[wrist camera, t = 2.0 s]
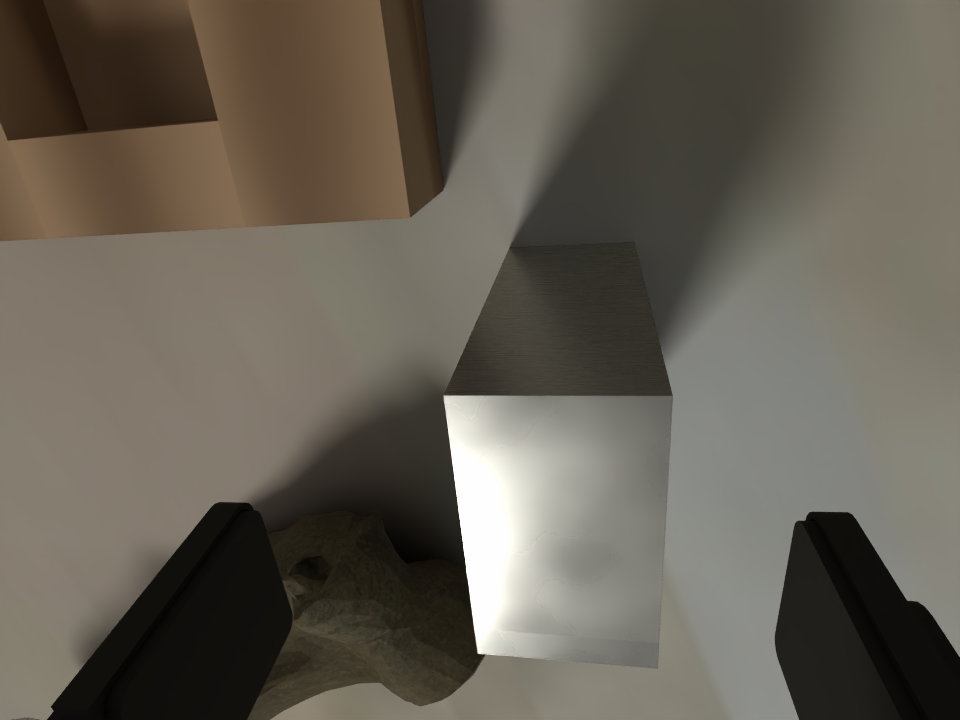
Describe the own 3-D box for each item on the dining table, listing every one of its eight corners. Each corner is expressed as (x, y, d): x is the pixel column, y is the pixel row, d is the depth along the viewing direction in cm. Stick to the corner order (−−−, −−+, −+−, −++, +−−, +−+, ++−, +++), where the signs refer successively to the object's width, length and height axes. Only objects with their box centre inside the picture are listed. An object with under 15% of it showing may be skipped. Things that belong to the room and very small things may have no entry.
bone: (319, 543, 18) (-140, 911, 26) (539, 715, 21) (71, 997, 29) (371, 396, 27) (20, 702, 35) (520, 532, 31) (167, 785, 38)
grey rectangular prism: (634, 242, 19) (673, 396, 10) (630, 424, 22) (657, 668, 13) (509, 248, 20) (443, 395, 11) (521, 423, 23) (477, 653, 14)
